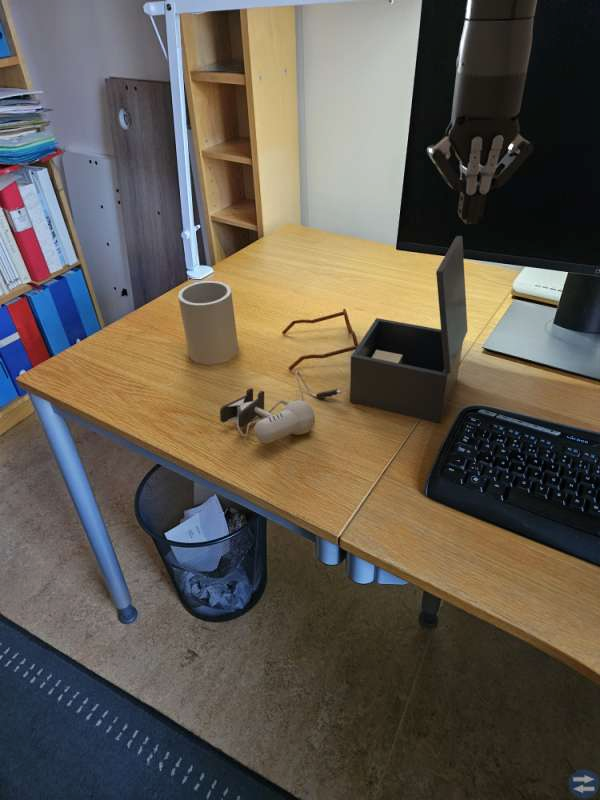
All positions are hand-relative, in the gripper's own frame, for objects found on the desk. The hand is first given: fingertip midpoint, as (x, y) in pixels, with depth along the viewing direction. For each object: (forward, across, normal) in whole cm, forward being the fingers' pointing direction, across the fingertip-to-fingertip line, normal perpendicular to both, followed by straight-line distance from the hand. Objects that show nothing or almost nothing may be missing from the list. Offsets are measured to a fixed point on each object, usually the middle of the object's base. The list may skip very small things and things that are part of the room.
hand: (469, 221), depth 72 cm
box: (+29, -6, +3) cm, 30 cm away
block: (+28, -9, +5) cm, 30 cm away
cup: (+29, -37, +20) cm, 51 cm away
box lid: (+12, -1, 0) cm, 12 cm away
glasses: (+29, -18, +18) cm, 38 cm away
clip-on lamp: (+29, -26, -2) cm, 39 cm away
